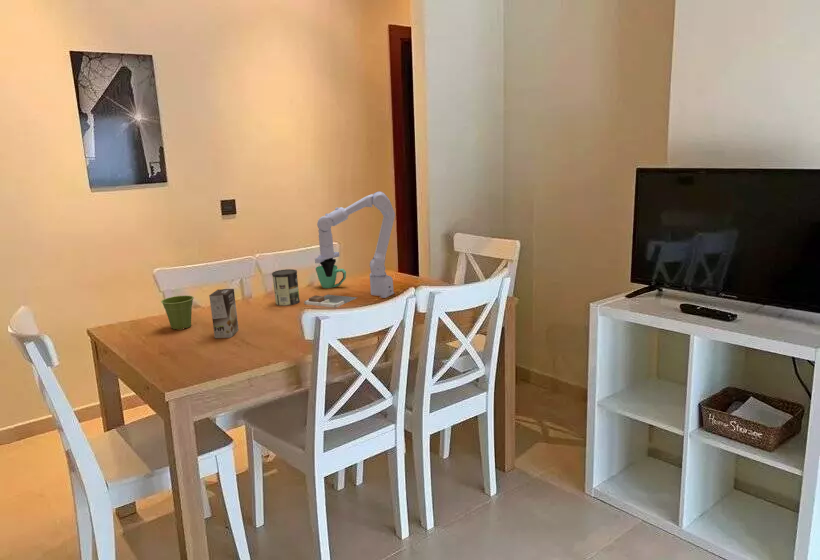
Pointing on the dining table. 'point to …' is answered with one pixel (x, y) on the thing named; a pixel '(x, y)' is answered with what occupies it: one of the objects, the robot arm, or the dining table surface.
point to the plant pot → (179, 311)
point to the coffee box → (224, 313)
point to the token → (316, 299)
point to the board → (331, 301)
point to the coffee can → (286, 287)
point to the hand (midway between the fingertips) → (329, 276)
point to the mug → (329, 281)
